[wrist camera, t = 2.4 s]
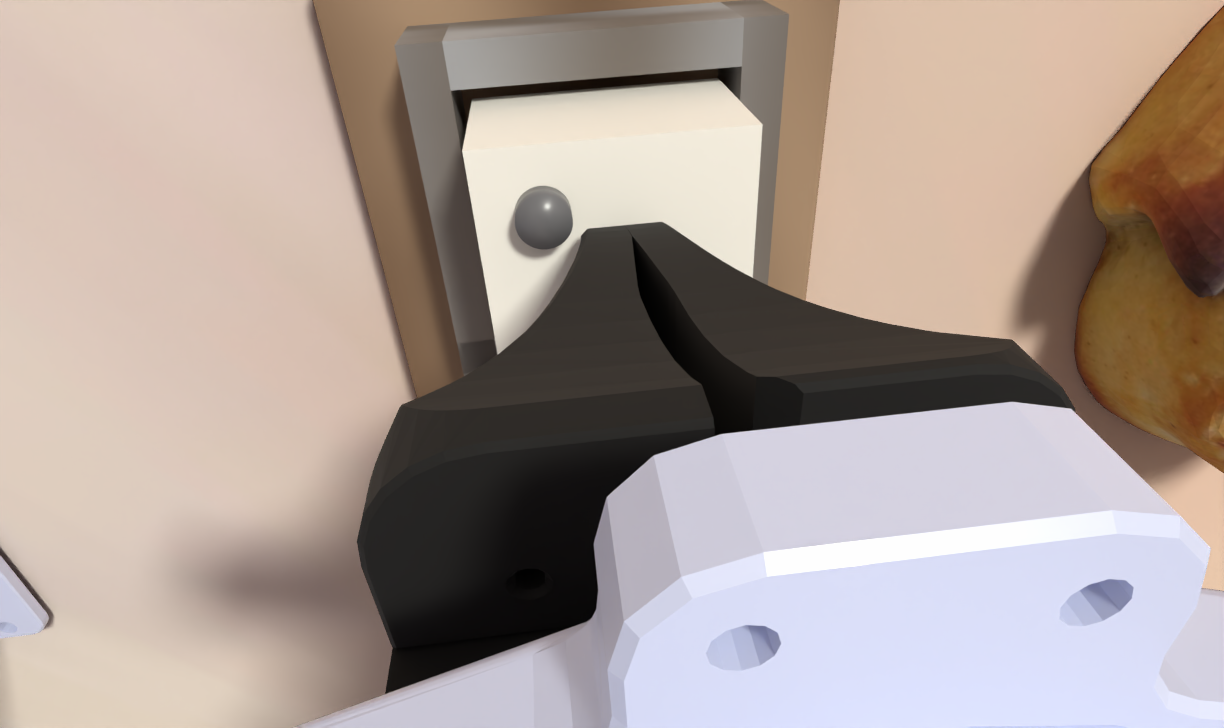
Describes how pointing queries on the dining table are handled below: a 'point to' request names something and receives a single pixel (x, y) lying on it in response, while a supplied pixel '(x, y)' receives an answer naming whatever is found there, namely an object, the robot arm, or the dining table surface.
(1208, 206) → the pastry
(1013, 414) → the robot arm
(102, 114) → the dining table surface
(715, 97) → the tile three
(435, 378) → the board
